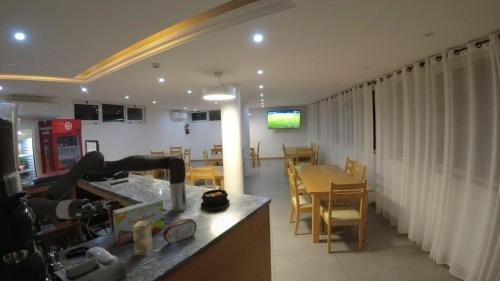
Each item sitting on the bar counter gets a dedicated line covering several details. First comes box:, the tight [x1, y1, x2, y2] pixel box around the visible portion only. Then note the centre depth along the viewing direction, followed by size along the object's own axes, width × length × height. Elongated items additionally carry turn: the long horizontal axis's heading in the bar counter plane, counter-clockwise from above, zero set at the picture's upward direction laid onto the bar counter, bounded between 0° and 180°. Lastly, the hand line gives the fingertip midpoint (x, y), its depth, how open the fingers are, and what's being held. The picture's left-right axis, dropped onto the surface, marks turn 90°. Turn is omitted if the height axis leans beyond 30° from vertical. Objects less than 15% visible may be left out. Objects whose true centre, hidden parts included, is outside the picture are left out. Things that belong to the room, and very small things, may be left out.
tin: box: [162, 218, 198, 244], centre depth 99 cm, size 15×3×8 cm, turn 130°
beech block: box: [133, 221, 153, 256], centre depth 90 cm, size 5×5×12 cm
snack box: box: [112, 198, 165, 246], centre depth 105 cm, size 21×6×15 cm, turn 137°
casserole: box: [200, 189, 230, 211], centre depth 140 cm, size 25×19×8 cm
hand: (113, 206), depth 89 cm, fingers open, 8 cm apart
